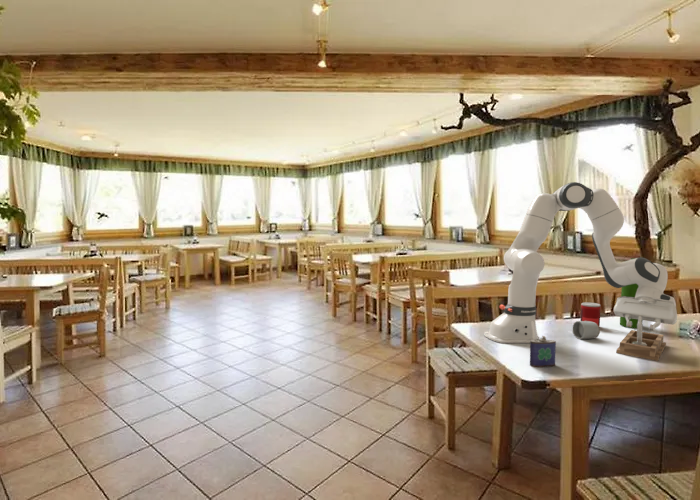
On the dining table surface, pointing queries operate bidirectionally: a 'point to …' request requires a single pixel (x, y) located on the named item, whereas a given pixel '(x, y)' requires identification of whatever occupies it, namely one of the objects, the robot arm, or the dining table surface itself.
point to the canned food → (590, 312)
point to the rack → (649, 351)
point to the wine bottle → (629, 292)
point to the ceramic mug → (585, 330)
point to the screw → (639, 333)
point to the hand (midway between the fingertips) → (640, 327)
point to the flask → (542, 352)
